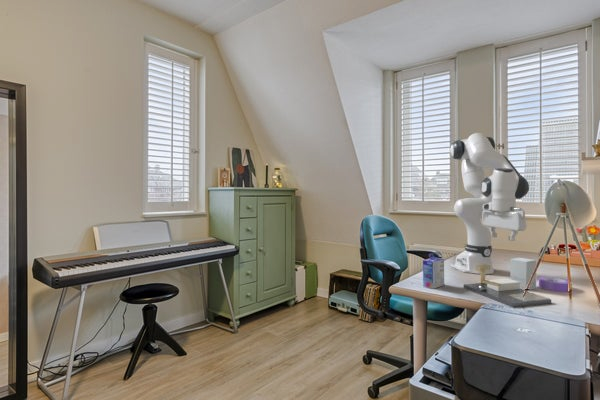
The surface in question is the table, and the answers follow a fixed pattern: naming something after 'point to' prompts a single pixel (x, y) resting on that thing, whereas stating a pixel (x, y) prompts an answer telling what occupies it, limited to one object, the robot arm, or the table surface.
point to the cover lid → (505, 284)
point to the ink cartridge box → (433, 272)
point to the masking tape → (553, 284)
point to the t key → (482, 269)
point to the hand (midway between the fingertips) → (502, 238)
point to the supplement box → (523, 272)
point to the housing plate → (509, 296)
